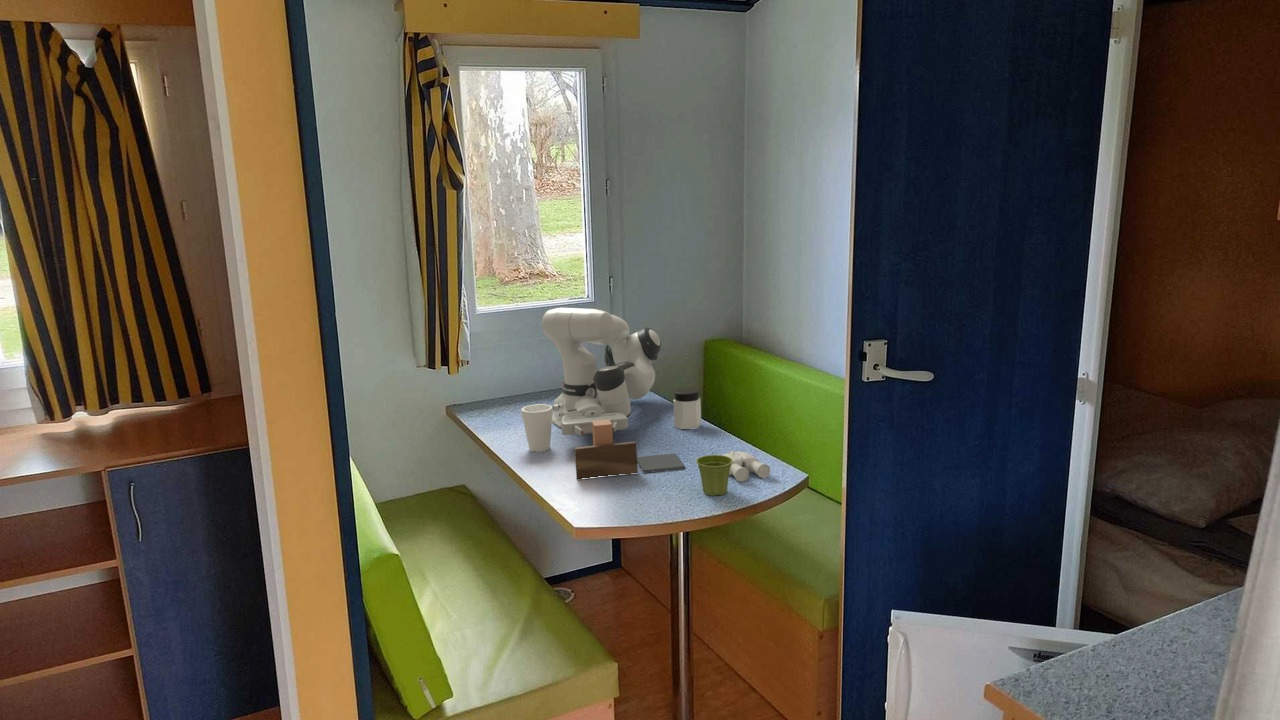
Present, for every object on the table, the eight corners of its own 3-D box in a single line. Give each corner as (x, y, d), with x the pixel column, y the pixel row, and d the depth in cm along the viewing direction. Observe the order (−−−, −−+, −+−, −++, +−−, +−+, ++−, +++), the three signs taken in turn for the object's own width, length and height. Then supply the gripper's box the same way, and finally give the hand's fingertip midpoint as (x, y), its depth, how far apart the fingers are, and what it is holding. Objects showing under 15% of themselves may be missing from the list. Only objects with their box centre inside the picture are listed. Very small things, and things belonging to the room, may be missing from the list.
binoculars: (736, 484, 239) (735, 467, 238) (710, 466, 254) (710, 450, 253) (770, 478, 242) (770, 461, 241) (744, 461, 257) (743, 445, 256)
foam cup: (521, 447, 278) (517, 406, 276) (549, 442, 282) (546, 402, 279) (529, 455, 270) (526, 414, 267) (558, 450, 273) (556, 409, 271)
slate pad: (635, 459, 262) (635, 457, 261) (675, 455, 264) (675, 453, 263) (643, 473, 250) (642, 470, 250) (684, 468, 252) (684, 466, 252)
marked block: (594, 468, 256) (591, 421, 253) (611, 466, 257) (609, 419, 254) (597, 474, 251) (594, 426, 248) (614, 472, 252) (612, 424, 249)
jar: (706, 426, 291) (705, 390, 289) (688, 431, 286) (686, 395, 284) (687, 421, 298) (686, 386, 296) (669, 426, 293) (668, 390, 291)
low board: (576, 478, 248) (574, 447, 246) (636, 472, 251) (635, 441, 249) (577, 480, 247) (575, 449, 245) (637, 473, 249) (636, 443, 248)
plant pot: (708, 483, 240) (707, 452, 238) (739, 489, 234) (739, 457, 233) (690, 494, 232) (689, 462, 230) (722, 500, 227) (721, 468, 225)
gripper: (625, 425, 280) (632, 437, 266) (559, 431, 276) (564, 444, 263) (624, 405, 278) (631, 417, 265) (558, 411, 275) (562, 424, 262)
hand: (597, 431), depth 264 cm, fingers open, 8 cm apart
